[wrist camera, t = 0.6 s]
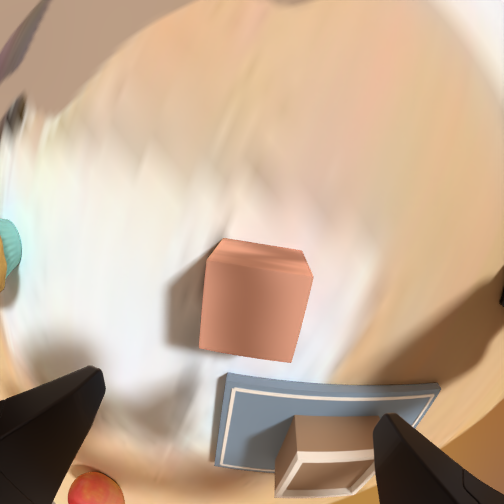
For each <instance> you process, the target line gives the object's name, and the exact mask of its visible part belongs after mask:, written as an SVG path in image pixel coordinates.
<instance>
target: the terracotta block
mask: <svg viewBox="0 0 504 504" xmlns="http://www.w3.org/2000/svg"><path fill="white" fill-rule="evenodd" d="M312 281H313V275H312V272H311V270H310V268H309V266H308V263H307V261H306V259H305V257H304V254H303V252H302V251H301V250H295V249H289V248H283V247H277V246H271V245H265V244H258V243H252V242H246V241H240V240H233V239H227V238H223V239H222V240H221V242H220V243H219V244H218V246H217V247H216V248H215V250H214V251H213V252H212V254H211V255H210V256H209V257H208V259H207V262H206V271H205V281H204V291H203V302H202V314H201V326H200V339H199V348H201V349H206V350H211V351H216V352H221V353H227V354H233V355H238V356H245V357H251V358H258V359H265V360H272V361H280V362H288V363H291V362H292V358H293V355H294V351H295V348H296V344H297V341H298V337H299V333H300V329H301V326H302V322H303V318H304V314H305V310H306V306H307V302H308V298H309V294H310V290H311V286H312Z"/></svg>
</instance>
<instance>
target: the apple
mask: <svg viewBox="0 0 504 504" xmlns="http://www.w3.org/2000/svg"><path fill="white" fill-rule="evenodd" d="M68 503H69V504H125V500H124V496H123V493H122V491H121V489H120V488H119V486H118V485H117V484H116V483H115V482H114V481H113V480H112V479H110V478H109V477H107V476H106V475H104V474H102V473H99V472H88V473H85V474H82V475H80V476H79V477H77V478H76V479H75V480H74V482H73V483H72V485H71V487H70V489H69V493H68Z"/></svg>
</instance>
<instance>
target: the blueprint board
mask: <svg viewBox="0 0 504 504" xmlns="http://www.w3.org/2000/svg"><path fill="white" fill-rule="evenodd" d="M440 390H441V387H440V386H439V384H438V383H427V384H411V385H334V384H317V383H304V382H293V381H284V380H275V379H267V378H259V377H252V376H246V375H239V374H233V373H227V378H226V384H225V391H224V398H223V406H222V413H221V420H220V427H219V435H218V442H217V450H216V457H215V465H214V466H219V467H225V468H231V469H239V470H247V471H256V472H267V473H275V497H274V498H323V497H337V496H348V495H355V494H356V493H357V492H358V491H359V490H360V489H361V488H362V487H363V486H364V485H365V484H366V483H367V482H368V481H369V480H370V479H371V478H372V477H373V476H374V475H375V466H374V448H373V430H374V427H375V426H376V424H377V423H378V421H379V420H380V418H381V417H382V415H383V414H385V413H397V414H398V415H399V416H400V417H402V418H403V419H404V420H405V421H406V422H407V423H409V424H410V425H411V426H412V427H413V428H416V426H417V425H418V424H419V422H420V421H421V419H422V418H423V417H424V415H425V414H426V412H427V411H428V409H429V408H430V406H431V405H432V403H433V402H434V400H435V398H436V397H437V395H438V394H439V392H440Z"/></svg>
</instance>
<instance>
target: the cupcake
mask: <svg viewBox="0 0 504 504" xmlns="http://www.w3.org/2000/svg"><path fill="white" fill-rule="evenodd" d="M20 259H21V241H20V237H19V234H18V231H17V229H16V227H15V225H14V224H13V223H12V222H11V221H10V220H7V219H0V292H1V291H2V290H3V289H4V287H5V280H6V278H7V276H8V275H9V274H10V272H11V271H12V270H13V269H14V268H15V267H16V266H17V265H18V264H19V262H20Z"/></svg>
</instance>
